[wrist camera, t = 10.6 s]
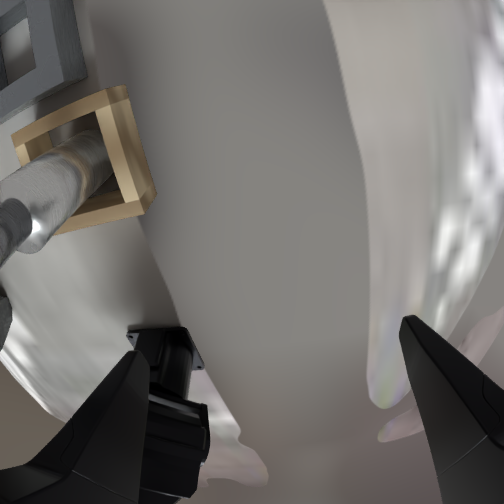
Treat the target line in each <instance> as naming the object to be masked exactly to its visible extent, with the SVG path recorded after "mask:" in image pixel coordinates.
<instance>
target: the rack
mask: <svg viewBox="0 0 504 504" xmlns="http://www.w3.org/2000/svg"><path fill="white" fill-rule="evenodd" d="M93 111H95V112H96V116H97V119H98V122H99V126H100V129H101V133H102V136H103V139H104V142H105V145H106V149H107V152H108V155H109V158H110V161H111V164H112V167H113V170H114V173H115V176H116V179H117V182H118V184H119V187H120V190H116V191H113V192H109V193H105V194H102V195H98V196H95V197H91V198H88V199H87V200H86V201H85V202H84V203H83V204H82V205H81V206H80V207H79V208H78V209H77V210H76V211H75V212H74V213H73V214H72V215H71V216H70V217H69V218H68V219H67V220H66V222H65V223H64V224H63V225H62V226H61V227H60V228H59V229H58V230H57V232H56V233H55V234H54V235H58V234H62V233H66V232H70V231H74V230H78V229H82V228H86V227H90V226H94V225H98V224H103V223H107V222H111V221H116V220H120V219H125V218H129V217H134V216H138V215H142V214H145V213H146V211H147V209H148V208H149V206H150V205H151V203H152V202H153V200H154V198H155V197H156V195H157V192H156V189H155V186H154V183H153V180H152V177H151V173H150V170H149V167H148V164H147V160H146V157H145V154H144V150H143V147H142V144H141V140H140V137H139V133H138V130H137V126H136V123H135V119H134V115H133V112H132V108H131V104H130V100H129V97H128V93H127V89H126V85H125V84H124V85H120V86H115V87H111V88H107V89H104V90H101V91H99V92H96V93H94V94H91V95H89V96H87V97H84V98H82V99H80V100H78V101H75V102H73V103H71V104H69V105H67V106H65V107H62V108H60V109H58V110H56V111H54V112H52V113H50V114H48V115H46V116H44V117H42V118H40V119H39V120H37V121H35V122H33V123H31V124H29V125H27V126H26V127H24V128H22V129H20V130H19V131H17V132H15V133H14V134H12V135H11V137H12V140H13V144H14V147H15V150H16V153H17V155H18V158H19V161H20V164H21V167H23V166H24V165H26V164H27V163H29V162H30V161H32V160H34V159H35V158H37V157H38V156H40V155H42V154H43V153H45V152H47V151H48V150H50V149H52V148H53V146H52V143H51V139H50V136H49V133H48V131H50V130H52V129H54V128H56V127H58V126H60V125H62V124H65V123H67V122H69V121H71V120H74V119H76V118H78V117H81V116H83V115H86V114H88V113H90V112H93ZM54 235H53V236H54Z"/></svg>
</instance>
